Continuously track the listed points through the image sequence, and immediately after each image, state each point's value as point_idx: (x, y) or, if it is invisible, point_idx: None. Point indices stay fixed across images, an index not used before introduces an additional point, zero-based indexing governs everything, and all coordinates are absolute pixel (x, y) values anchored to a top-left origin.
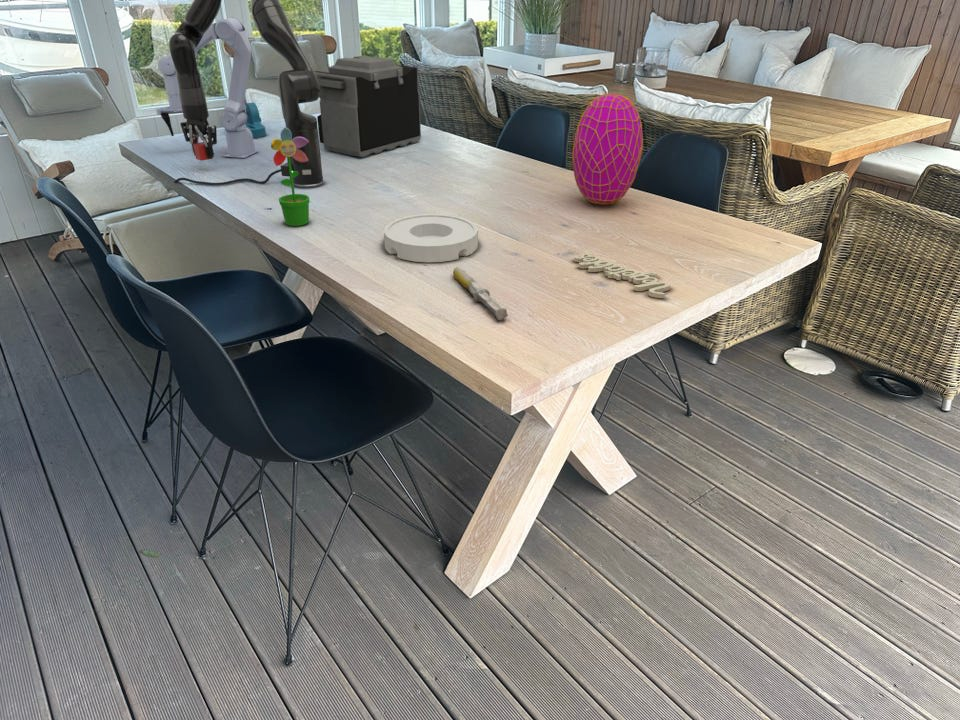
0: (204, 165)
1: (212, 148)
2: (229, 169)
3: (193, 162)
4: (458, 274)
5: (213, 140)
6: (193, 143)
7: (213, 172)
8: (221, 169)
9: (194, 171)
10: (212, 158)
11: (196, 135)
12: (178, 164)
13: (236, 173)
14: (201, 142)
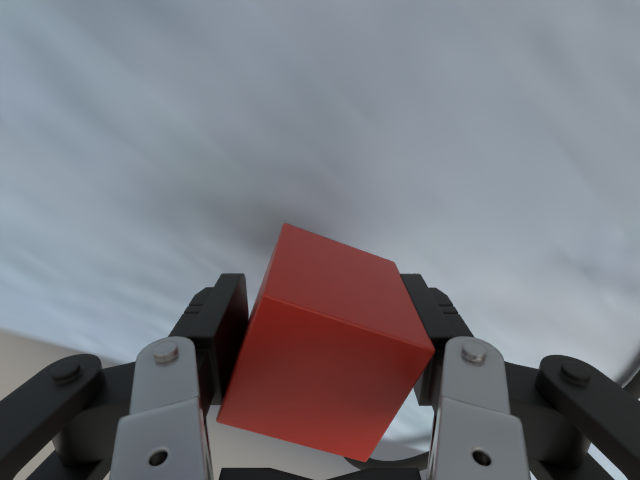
0: (179, 148)
1: (469, 336)
2: (435, 132)
3: (28, 128)
4: None
5: (582, 421)
6: (224, 422)
7: (385, 247)
8: (379, 164)
9: None
10: (394, 265)
11: (208, 476)
12: (9, 227)
13: (552, 186)
14: (262, 347)
